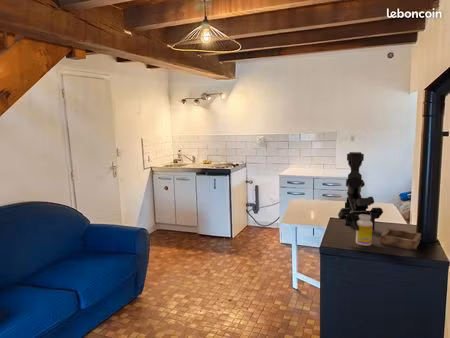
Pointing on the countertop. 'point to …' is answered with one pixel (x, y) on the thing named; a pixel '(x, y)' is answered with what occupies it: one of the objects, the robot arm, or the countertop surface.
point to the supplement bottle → (364, 230)
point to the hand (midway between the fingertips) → (365, 230)
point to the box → (400, 239)
